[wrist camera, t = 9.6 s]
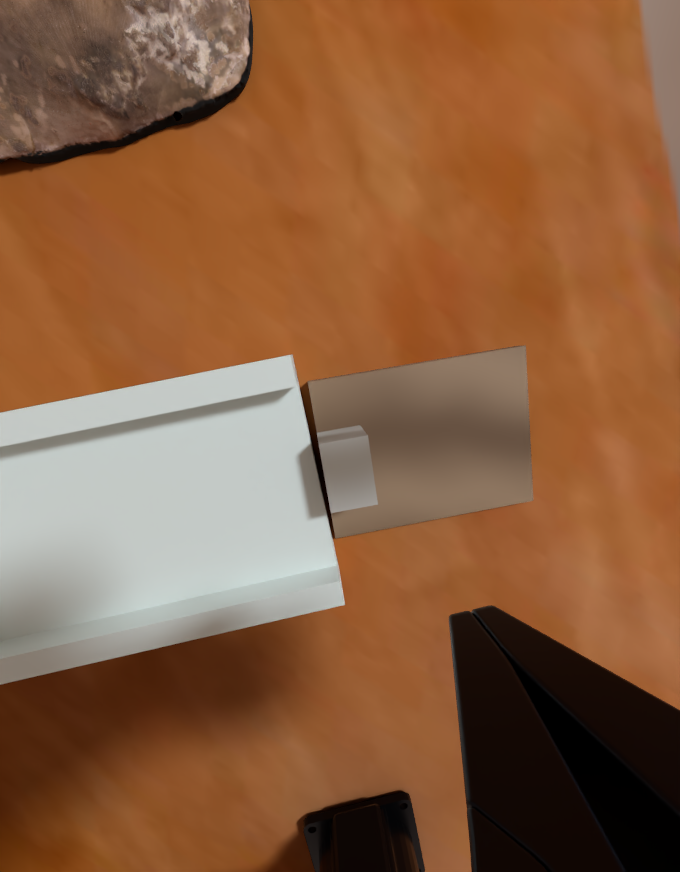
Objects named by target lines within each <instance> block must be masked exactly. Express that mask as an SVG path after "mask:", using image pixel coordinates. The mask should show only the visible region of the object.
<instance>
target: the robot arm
mask: <svg viewBox="0 0 680 872" xmlns="http://www.w3.org/2000/svg"><path fill="white" fill-rule="evenodd" d="M449 627H450V637H451V647H452V658H453V668H454V679H455V690H456V700H457V710H458V721H459V731H460V742H461V753H462V763H463V773H464V784H465V794H466V804H467V819H468V829H469V840H470V852H471V868H472V872H680V710H678V709H677V708H675V707H673V706H671V705H670V704H668V703H666V702H664V701H662V700H661V699H659V698H657V697H655V696H653V695H652V694H650V693H648V692H646V691H645V690H643V689H641V688H639V687H637V686H636V685H634V684H632V683H630V682H629V681H627V680H625V679H623V678H621V677H620V676H618V675H616V674H614V673H613V672H611V671H609V670H607V669H605V668H604V667H602V666H600V665H598V664H597V663H595V662H593V661H591V660H589V659H588V658H586V657H584V656H582V655H581V654H579V653H577V652H575V651H573V650H572V649H570V648H568V647H566V646H564V645H563V644H561V643H559V642H557V641H556V640H554V639H552V638H550V637H548V636H547V635H545V634H543V633H541V632H540V631H538V630H536V629H534V628H532V627H531V626H529V625H527V624H525V623H524V622H522V621H520V620H518V619H516V618H515V617H513V616H511V615H509V614H508V613H506V612H504V611H502V610H500V609H499V608H497V607H495V606H485V607H481V608H477V609H473V610H472V612H469V611H464V612H460V613H455V614H451V615H450V616H449ZM304 834H305V838H306V841H307V845H308V848H309V852H310V855H311V858H312V862H313V865H314V869H315V872H425V868H424V863H423V858H422V853H421V848H420V843H419V838H418V833H417V828H416V823H415V818H414V813H413V808H412V803H411V799H410V796H409V794H408V793H405V792H401V793H397V794H393V795H389V796H385V797H381V798H377V799H373V800H369V801H365V802H362V803H358V804H354V805H350V806H346V807H342V808H338V809H334V810H330V811H326V812H323V813H319V814H315V815H311V816H308V817H307V818H305V820H304Z"/></svg>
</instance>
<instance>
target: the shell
mask: <svg viewBox="0 0 680 872" xmlns="http://www.w3.org/2000/svg"><path fill="white" fill-rule="evenodd" d="M252 51H253V24H252V15H251V9H250V5H249V0H0V163H1V162H4V161H5V160H6V159H9V158H16V159H19V160H21V161H23V162H27V163H35V164H40V163H51V162H58V161H62V160H66V159H69V158H72V157H75V156H78V155H82V154H86V153H90V152H94V151H98V150H102V149H106V148H112V147H120V146H124V145H128V144H130V143H132V142H134V141H136V140H138V139H141V138H143V137H146V136H148V135H150V134H152V133H155V132H157V131H160V130H162V129H165V128H167V127H170V126H174V125H181V124H186V123H190V122H193V121H196V120H198V119H201V118H204V117H206V116H208V115H211V114H213V113H215V112H216V111H218V110H219V109H221V108H222V107H224V106H225V105H226V104H227V103H229V102H230V101H231V100H233V99H234V98H235V97H236V96H238V95H239V94H240V93H241V92H242V90H243V89H244V87H245V85H246V83H247V81H248V78H249V75H250V70H251V64H252ZM174 111H177V112H179V113H181V115H182V119H181V120H180V121H176V120H175V118H174V117H173V114H174Z"/></svg>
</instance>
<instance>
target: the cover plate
mask: <svg viewBox="0 0 680 872" xmlns="http://www.w3.org/2000/svg"><path fill="white" fill-rule="evenodd" d="M308 386H309V392H310V398H311V403H312V409H313V415H314V420H315V426H316V431H317V437H318V443H319V449H320V455H321V460H322V466H323V472H324V477H325V483H326V489H327V494H328V500H329V505H330V511H331V516H332V522H333V527H334V533H335V538H340V537H346V536H351V535H356V534H361V533H367V532H372V531H377V530H382V529H387V528H393V527H398V526H403V525H408V524H414V523H419V522H424V521H429V520H434V519H440V518H445V517H450V516H455V515H461V514H466V513H471V512H476V511H481V510H487V509H492V508H497V507H502V506H508V505H513V504H518V503H523V502H528V501H533V485H532V464H531V444H530V424H529V404H528V383H527V363H526V346H514V347H508V348H502V349H496V350H490V351H484V352H478V353H472V354H466V355H460V356H454V357H448V358H442V359H437V360H431V361H425V362H419V363H413V364H407V365H401V366H395V367H389V368H383V369H377V370H371V371H365V372H359V373H353V374H347V375H341V376H335V377H329V378H324V379H318V380H312V381H308Z"/></svg>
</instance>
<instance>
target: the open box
mask: <svg viewBox="0 0 680 872" xmlns="http://www.w3.org/2000/svg"><path fill="white" fill-rule="evenodd" d="M342 605H345V602H344V596H343V589H342V583H341V577H340V571H339V566H338V562H337V557H336V552H335V548H334V543H333V539H332V534H331V529H330V525H329V520H328V516H327V511H326V506H325V502H324V497H323V493H322V488H321V484H320V479H319V474H318V470H317V465H316V461H315V456H314V451H313V447H312V442H311V438H310V433H309V428H308V424H307V419H306V415H305V410H304V405H303V401H302V396H301V392H300V387H299V383H298V378H297V373H296V369H295V364H294V360H293V355H287V356H282V357H277V358H272V359H267V360H262V361H257V362H252V363H247V364H242V365H237V366H232V367H227V368H222V369H217V370H212V371H207V372H202V373H197V374H192V375H187V376H182V377H177V378H172V379H166V380H161V381H156V382H151V383H146V384H141V385H136V386H131V387H126V388H121V389H116V390H111V391H106V392H101V393H96V394H91V395H86V396H81V397H76V398H71V399H66V400H61V401H56V402H51V403H46V404H41V405H36V406H31V407H26V408H21V409H16V410H11V411H6V412H1V413H0V685H1V684H5V683H9V682H14V681H18V680H22V679H27V678H31V677H35V676H40V675H44V674H48V673H53V672H57V671H61V670H65V669H70V668H74V667H78V666H83V665H87V664H91V663H96V662H100V661H104V660H109V659H113V658H117V657H122V656H126V655H130V654H135V653H139V652H143V651H148V650H152V649H156V648H160V647H165V646H169V645H173V644H178V643H182V642H186V641H191V640H195V639H199V638H204V637H208V636H212V635H217V634H221V633H225V632H230V631H234V630H238V629H242V628H247V627H251V626H255V625H260V624H264V623H268V622H273V621H277V620H281V619H286V618H290V617H294V616H299V615H303V614H307V613H312V612H316V611H320V610H325V609H329V608H333V607H337V606H342Z"/></svg>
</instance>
